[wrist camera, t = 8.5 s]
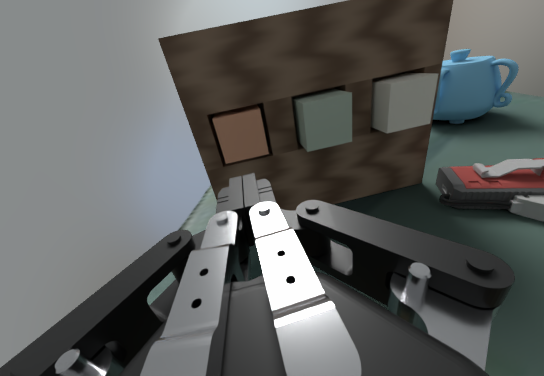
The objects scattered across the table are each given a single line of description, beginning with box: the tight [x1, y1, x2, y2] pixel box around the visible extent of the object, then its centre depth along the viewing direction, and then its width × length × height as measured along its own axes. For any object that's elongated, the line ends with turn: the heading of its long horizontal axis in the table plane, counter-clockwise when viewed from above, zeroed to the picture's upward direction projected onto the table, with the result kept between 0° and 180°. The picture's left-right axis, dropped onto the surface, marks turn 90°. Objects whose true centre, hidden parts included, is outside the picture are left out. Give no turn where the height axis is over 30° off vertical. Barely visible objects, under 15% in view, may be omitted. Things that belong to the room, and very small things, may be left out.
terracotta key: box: [212, 104, 269, 164], centre depth 26 cm, size 5×4×5 cm
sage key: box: [292, 89, 352, 152], centre depth 25 cm, size 5×4×5 cm
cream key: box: [371, 73, 438, 133], centre depth 25 cm, size 5×4×5 cm
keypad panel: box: [159, 0, 453, 211], centre depth 28 cm, size 28×6×22 cm, turn 99°
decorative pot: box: [433, 49, 518, 124], centre depth 49 cm, size 16×16×14 cm
